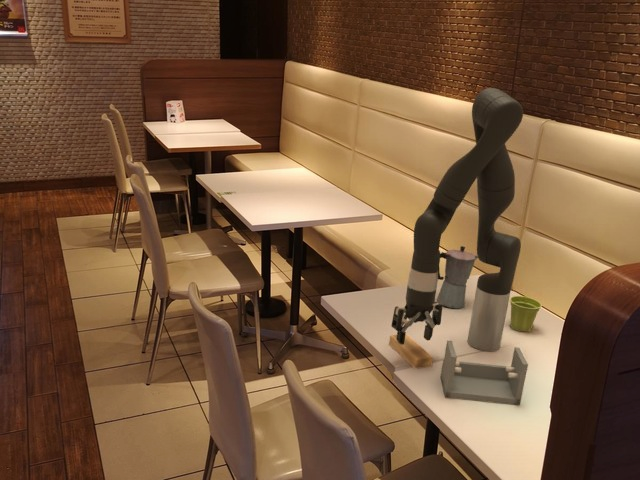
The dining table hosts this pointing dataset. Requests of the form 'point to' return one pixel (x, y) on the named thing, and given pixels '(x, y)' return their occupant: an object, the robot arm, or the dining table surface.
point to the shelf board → (412, 352)
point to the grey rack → (483, 378)
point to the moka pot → (455, 277)
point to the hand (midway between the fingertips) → (413, 341)
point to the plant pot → (523, 312)
